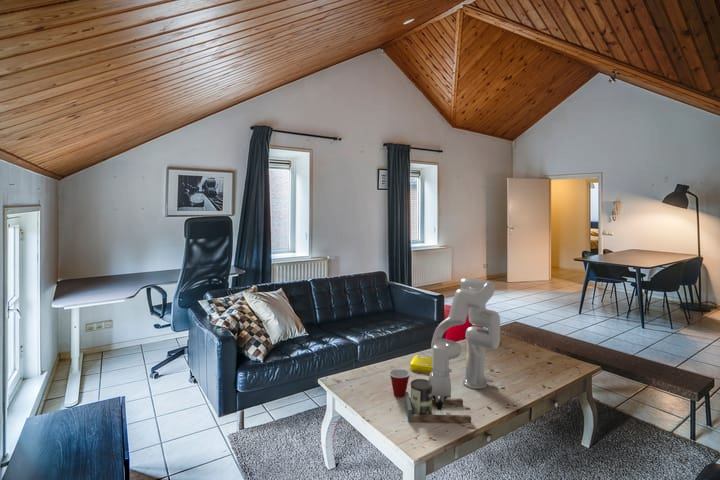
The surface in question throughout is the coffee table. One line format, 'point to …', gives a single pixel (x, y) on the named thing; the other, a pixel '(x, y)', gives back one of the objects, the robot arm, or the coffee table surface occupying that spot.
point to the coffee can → (421, 397)
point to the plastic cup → (399, 381)
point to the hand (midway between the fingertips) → (438, 408)
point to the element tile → (421, 364)
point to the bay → (436, 418)
